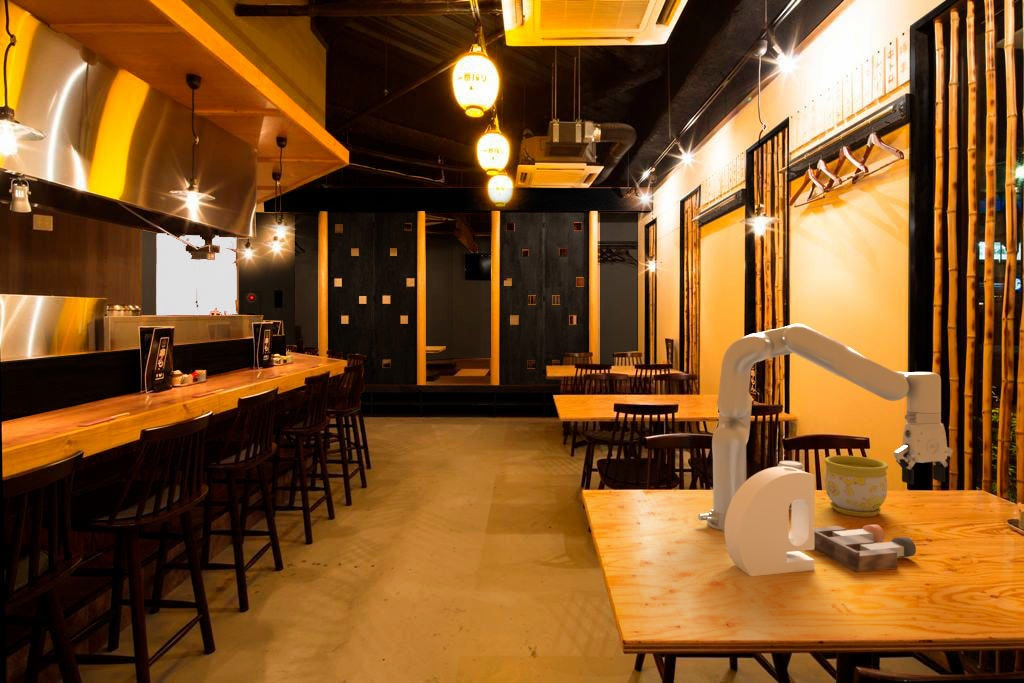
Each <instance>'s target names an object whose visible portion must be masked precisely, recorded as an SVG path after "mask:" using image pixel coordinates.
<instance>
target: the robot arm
mask: <svg viewBox="0 0 1024 683" xmlns="http://www.w3.org/2000/svg"><path fill="white" fill-rule="evenodd" d="M790 354H794V355H796V356H799V357H801V358H802V359H805V360H807V361H809V362H811V363H812V364H814V365H816V366H818V367H821V368H822V369H824V370H825V371H827V372H830V373H831V374H833V375H835V376H837V377H840V378H842V379H845V380H847V381H848V382H850V383H853V384H854V385H856V386H858V387H860V388H862V389H863V390H867V392H870V393H872V394H874V395H875V396H878V397H879V398H881V399H883V400H886V401H890V402H895V401H899V400H900V401H901V400H902V399H904V398H906V414H905V415H904V418H905V420H906V422H905V423H904V428H903V432H902V433H903V435H902V443H901V447H900V448H898V449H896V450H895V451H894V452H893V456H894V458H895V459H896V462H897V464H898V465H899V467H900V468H901V481H902V483H904V484H905V483H906V484H909V485H914V483H915V471H914V469H913V467H914V466H915V464H916V463H921V464H924V463H934V464H933V465H932V479H933V480H935V481H938V482H941V483H945V482H946V467H948V464H949V462H950V460H951V457H952V455H953V452H954V449H952V448H951V447H948V444H947V443H948V442H947V436H946V435H947V433H946V430H945V426H944V423H942V421H941V420H942V416H941V415H942V379H941V376H940V374H938V373H936V372H931V371H914V372H913V371H912V372H909V371H908V372H906V371H897V370H892V369H889V368H888V367H885V366H883V365H881V364H879V363H878V362H875V361H874V360H871V359H870V358H867V357H866V356H864V355H863V354H860V353H859V352H858V351H856V350H855V349H853V348H852V347H849V345H846V344H844V343H842V342H840V341H838V340H836V339H834V338H831V337H829V336H827V335H826V334H824V333H822V332H819V331H817V330H816V329H814V328H812V327H809V326H807V325H806V324H803V323H794V324H790V325H787V326H784V327H779V328H774V329H769V330H765V331H761V332H756V333H755V332H754V333H750V334H748V335H745V336H743V337H740V338H739V339H737V340H736V341H734V342H733V343H732V344H730V345H729V346H728V348H727V349H726V351H725V352H724V355H723V358H722V361H721V368H720V377H719V385H718V386H719V387H718V395H717V400H716V401H717V402H716V405H717V409H718V411H719V412H718V424H717V425H718V426H716V428H715V430H714V432H713V435H712V438H711V439H712V440H711V448H712V450H711V451H712V475H713V476H712V481H713V483H712V484H713V485H712V492H713V493H712V495H713V496H712V499H713V500H712V506H713V507H712V509H711V508H710V509H709V511H708V512H707V513H699V514H698V515H697V516H698V517H697V518H698V520H699V521H706V522H707V524H708V526H709V527H711V528H713V529H715V530H716V531H717V530H719V531H722V532H724V526H725V518H726V514H727V510H728V507H729V505H730V502H731V500H732V498H733V497H734V495H735V493H736V492H737V490H738V489H739V488H740V487H741V485H742V484H743V483H744V482H745V481H747V444H748V442H749V437H750V430H751V418H752V407H753V406H752V405H753V399H752V396H751V393H750V381H751V373H752V372H751V371H752V367H753V366H754V365H755V363H758V362H762V361H764V360H767V359H771V358H776V357H782V356H786V355H790Z"/></svg>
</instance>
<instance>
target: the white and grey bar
mask: <svg viewBox="0 0 1024 683" xmlns="http://www.w3.org/2000/svg"><path fill="white" fill-rule="evenodd" d="M915 544H916V543H915V542H914V541H913V540H912V539H911V538H910V537H907V536H903V537H894V538H893V539H891V540H890V541H887V542H879V543H874V544H863V545H860V551H865V550H876V549H886V548H889V549H891V550H893V551H895V552H897V558H898V557H899V558H907V557H913V556H915V554H916V552H917V547H916V545H915Z"/></svg>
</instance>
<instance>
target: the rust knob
mask: <svg viewBox="0 0 1024 683" xmlns="http://www.w3.org/2000/svg"><path fill="white" fill-rule="evenodd" d="M848 535H860V536H862V537H864V538H867V539H869V540H871V541H873V542H874V543H883V542H884V540H885V537H886V536H885V532H884V529H883V528H882V527H881V525H879V524H866V525H863V526H862V528H857V529H848V530H847V529H846V530H845V531H833V532H832V537H837V536H848Z"/></svg>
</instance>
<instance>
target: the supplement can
mask: <svg viewBox="0 0 1024 683" xmlns="http://www.w3.org/2000/svg"><path fill="white" fill-rule="evenodd" d="M781 466H784V467H792V468H796V469H799V470H802V471H804V472H805V467H804V464H803V463H802V462H800V461H796V460H780V461H779V463H778V464H777V466H776V467H781ZM789 511H791V504H790V506H789Z"/></svg>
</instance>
